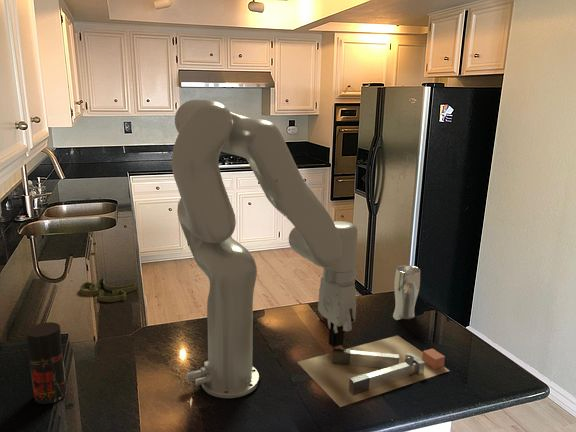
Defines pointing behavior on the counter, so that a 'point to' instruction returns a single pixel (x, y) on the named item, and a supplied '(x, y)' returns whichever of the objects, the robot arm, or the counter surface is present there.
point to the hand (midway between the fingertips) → (335, 344)
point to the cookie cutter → (117, 291)
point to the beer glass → (406, 291)
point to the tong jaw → (364, 358)
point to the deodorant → (46, 361)
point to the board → (362, 370)
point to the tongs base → (386, 375)
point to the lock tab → (433, 358)
